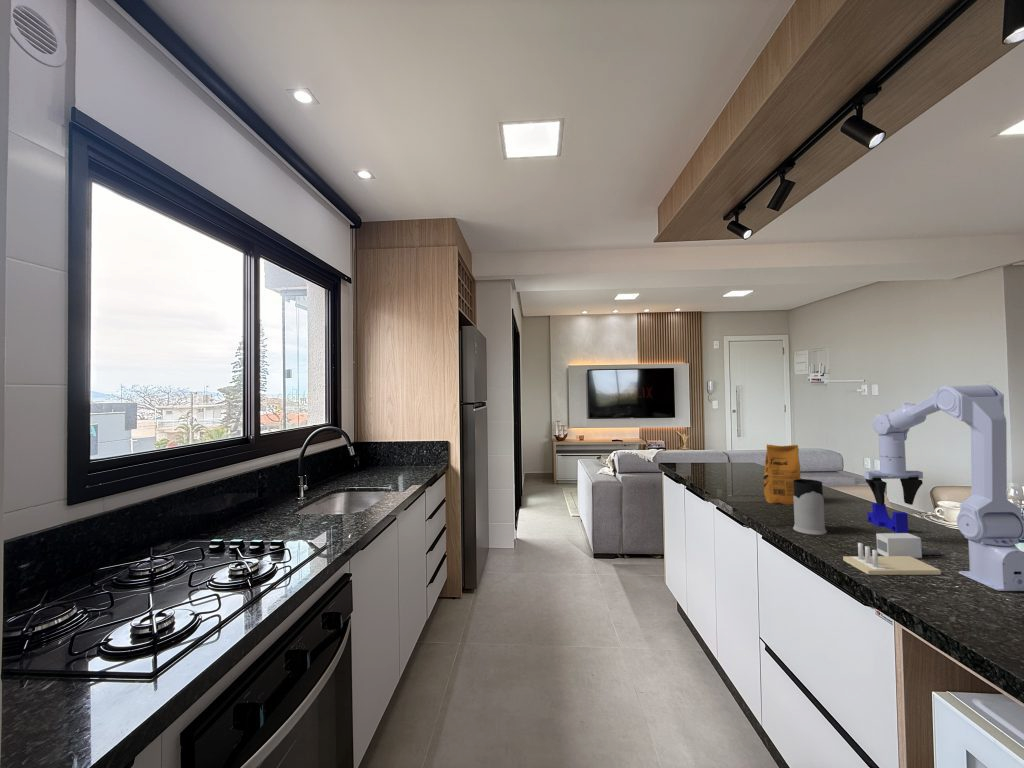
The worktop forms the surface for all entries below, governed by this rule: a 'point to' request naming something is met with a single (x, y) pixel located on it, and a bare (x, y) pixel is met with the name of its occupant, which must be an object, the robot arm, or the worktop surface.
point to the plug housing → (902, 545)
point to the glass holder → (809, 507)
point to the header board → (889, 564)
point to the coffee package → (781, 473)
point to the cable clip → (888, 519)
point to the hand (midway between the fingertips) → (894, 504)
